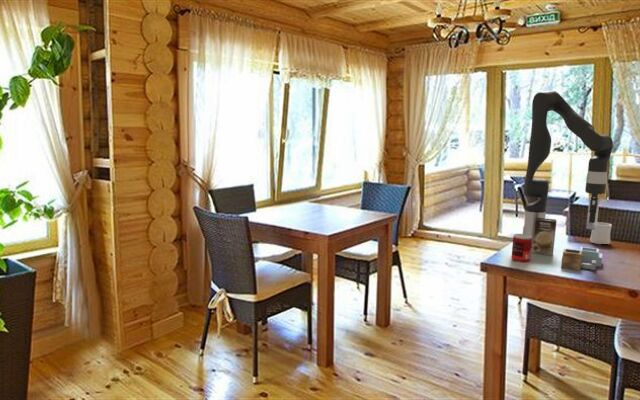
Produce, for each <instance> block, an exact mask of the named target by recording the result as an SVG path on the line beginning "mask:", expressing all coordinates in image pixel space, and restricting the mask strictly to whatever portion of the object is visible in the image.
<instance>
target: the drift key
mask: <svg viewBox="0 0 640 400" xmlns="http://www.w3.org/2000/svg"><path fill="white" fill-rule="evenodd" d="M596 267H597V266H596V261H595V260H592V264H589V263H582V262H581V266H580V269H585V270H590V271H596Z"/></svg>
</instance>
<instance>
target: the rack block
mask: <svg viewBox="0 0 640 400" xmlns="http://www.w3.org/2000/svg"><path fill="white" fill-rule="evenodd" d="M579 250H581V251H582V260H581V262H582V263H589V264H592V260H595V261H596V267H599V268H601V267H602V262H603V261H602V260H603V253H600V252H599V251H600V249H599V248H593V247H587V246H580V249H579Z"/></svg>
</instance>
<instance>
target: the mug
mask: <svg viewBox="0 0 640 400" xmlns="http://www.w3.org/2000/svg"><path fill="white" fill-rule="evenodd" d="M612 227H613V225H612V223H609V222H599V221H597V228H596V230H591V233H590V238H589V241H590V243H592V244H595V245H601V244H608V245H610V244H611V231H612Z"/></svg>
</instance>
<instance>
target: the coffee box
mask: <svg viewBox="0 0 640 400" xmlns="http://www.w3.org/2000/svg"><path fill="white" fill-rule="evenodd" d="M557 223H558V222H557V219H555V218H546V217H545V218H537V217H536V220H535V228H534V238H533V246H532V247H531V253H532V254H537V255H545V256H554V249H555V248H554V247H555V239H556V230H557V229H556V228H557Z"/></svg>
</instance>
